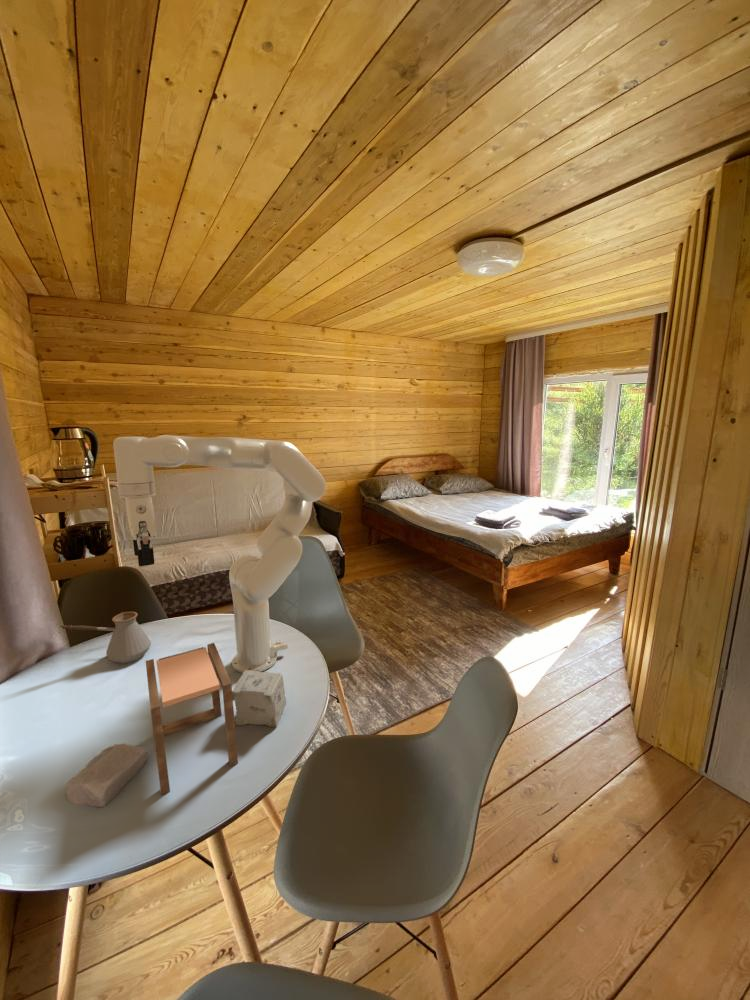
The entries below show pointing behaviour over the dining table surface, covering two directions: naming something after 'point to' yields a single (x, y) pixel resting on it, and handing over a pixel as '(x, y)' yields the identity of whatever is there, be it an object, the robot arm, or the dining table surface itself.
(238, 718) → the white speckled block
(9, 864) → the dining table surface
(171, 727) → the stand
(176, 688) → the trapdoor
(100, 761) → the stone block
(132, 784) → the dining table surface
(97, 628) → the coffee pot
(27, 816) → the dining table surface
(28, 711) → the dining table surface
